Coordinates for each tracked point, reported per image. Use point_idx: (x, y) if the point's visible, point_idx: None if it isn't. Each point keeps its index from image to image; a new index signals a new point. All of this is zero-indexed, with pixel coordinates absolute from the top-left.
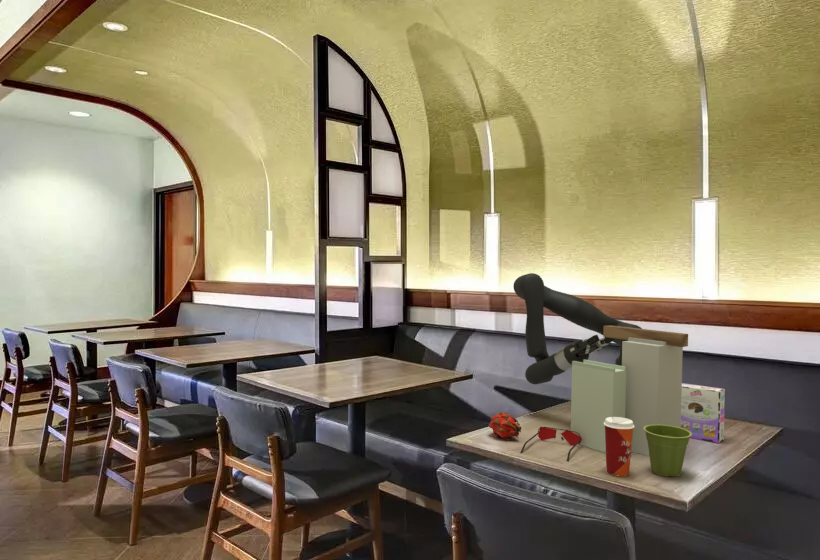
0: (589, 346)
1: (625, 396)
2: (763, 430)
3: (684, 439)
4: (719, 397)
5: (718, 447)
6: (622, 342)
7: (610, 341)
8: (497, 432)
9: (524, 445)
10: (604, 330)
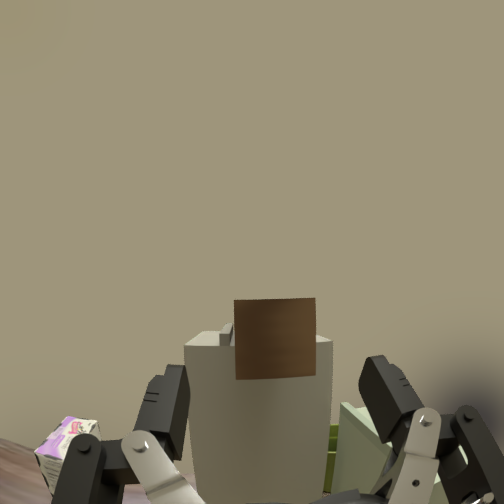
0: (394, 453)
1: (334, 469)
2: (12, 448)
3: (330, 428)
4: (99, 431)
5: (140, 493)
6: (332, 344)
7: (185, 430)
8: None
9: None
10: (313, 329)
